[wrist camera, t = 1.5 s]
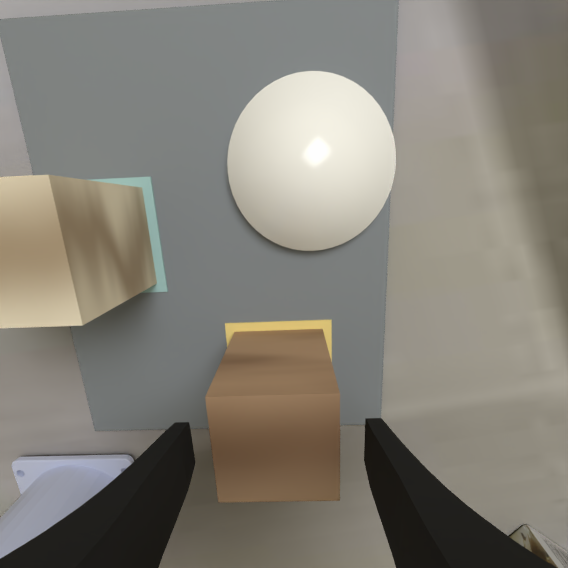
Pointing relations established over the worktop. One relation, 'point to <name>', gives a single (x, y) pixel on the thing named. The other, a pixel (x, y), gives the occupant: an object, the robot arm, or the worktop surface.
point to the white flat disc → (311, 160)
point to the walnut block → (275, 418)
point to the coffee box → (541, 546)
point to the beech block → (70, 249)
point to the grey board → (203, 189)
